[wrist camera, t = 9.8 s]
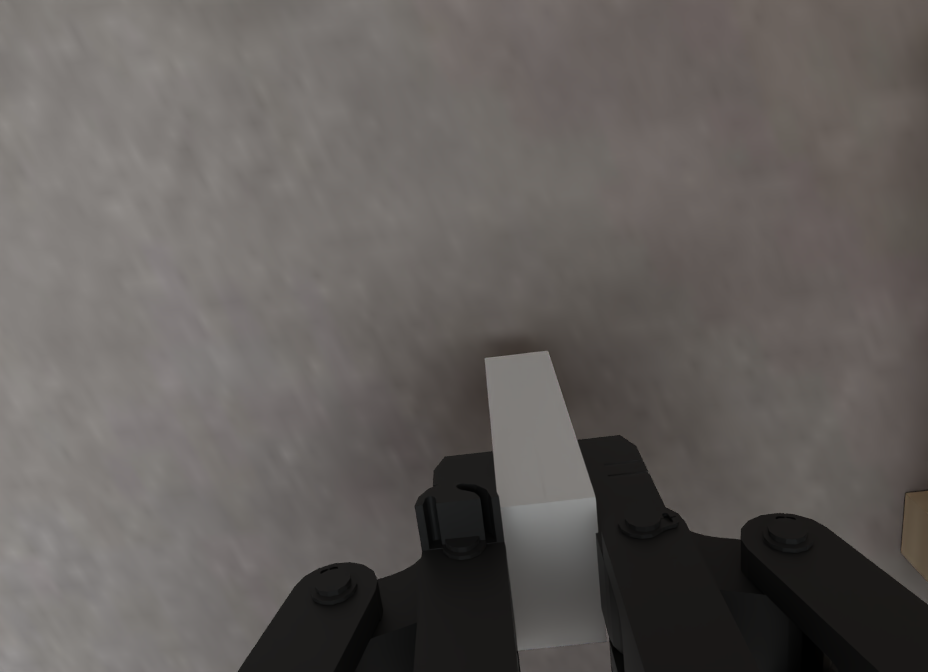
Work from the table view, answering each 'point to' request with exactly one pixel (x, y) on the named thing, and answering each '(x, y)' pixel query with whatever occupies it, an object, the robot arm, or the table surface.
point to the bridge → (916, 531)
